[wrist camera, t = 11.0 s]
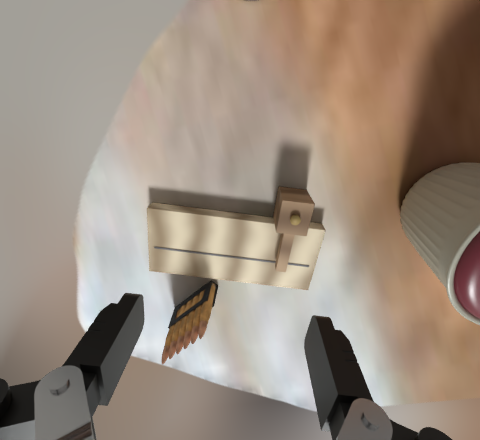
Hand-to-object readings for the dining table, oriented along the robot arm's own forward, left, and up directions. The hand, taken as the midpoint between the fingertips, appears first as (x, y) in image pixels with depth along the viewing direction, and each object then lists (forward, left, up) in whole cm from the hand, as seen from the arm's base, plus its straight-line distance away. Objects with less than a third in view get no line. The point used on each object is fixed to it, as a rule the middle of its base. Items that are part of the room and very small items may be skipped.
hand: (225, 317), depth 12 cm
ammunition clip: (+27, -6, -30) cm, 41 cm away
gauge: (+9, +8, -30) cm, 32 cm away
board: (+14, 0, -30) cm, 33 cm away
